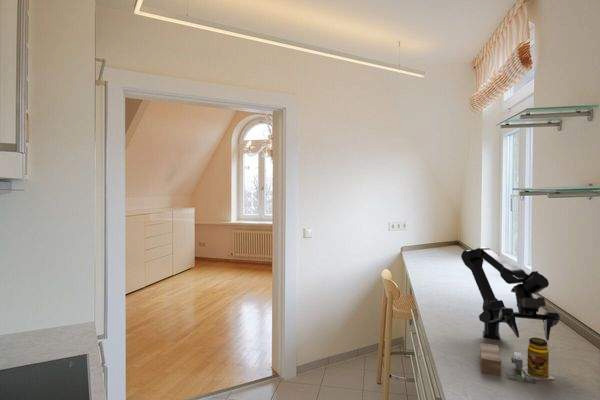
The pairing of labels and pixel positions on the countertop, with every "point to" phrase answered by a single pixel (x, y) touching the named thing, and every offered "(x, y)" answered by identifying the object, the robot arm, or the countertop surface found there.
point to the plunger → (517, 362)
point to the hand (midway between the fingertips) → (532, 338)
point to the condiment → (537, 359)
